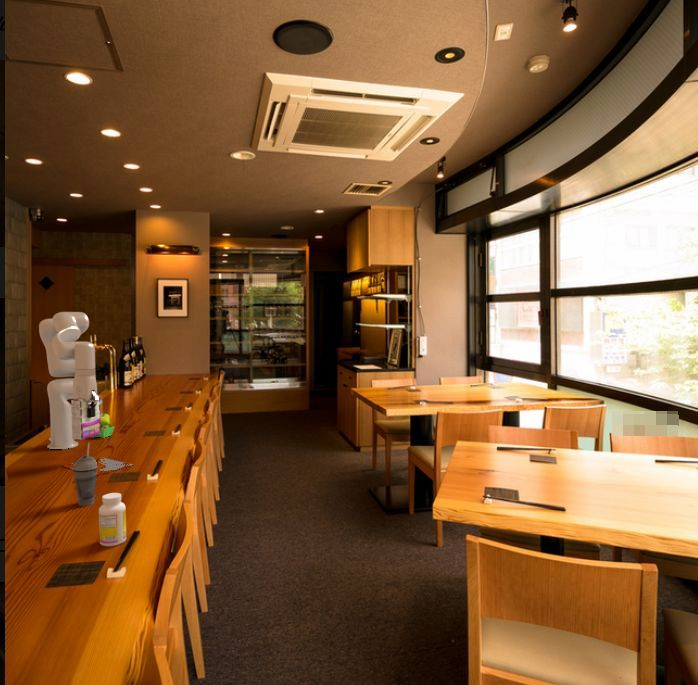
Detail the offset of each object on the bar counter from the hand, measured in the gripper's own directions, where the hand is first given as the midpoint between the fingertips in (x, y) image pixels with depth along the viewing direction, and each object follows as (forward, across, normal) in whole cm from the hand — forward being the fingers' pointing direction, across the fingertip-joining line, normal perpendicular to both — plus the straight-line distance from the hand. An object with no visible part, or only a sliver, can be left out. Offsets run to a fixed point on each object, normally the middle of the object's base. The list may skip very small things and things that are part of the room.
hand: (86, 416), depth 213 cm
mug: (+20, -78, +53) cm, 97 cm away
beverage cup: (+20, +42, -28) cm, 54 cm away
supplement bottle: (+20, +75, -42) cm, 88 cm away
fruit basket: (+20, -38, +33) cm, 54 cm away
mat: (+20, +7, 0) cm, 21 cm away
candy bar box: (+9, 0, 0) cm, 9 cm away
